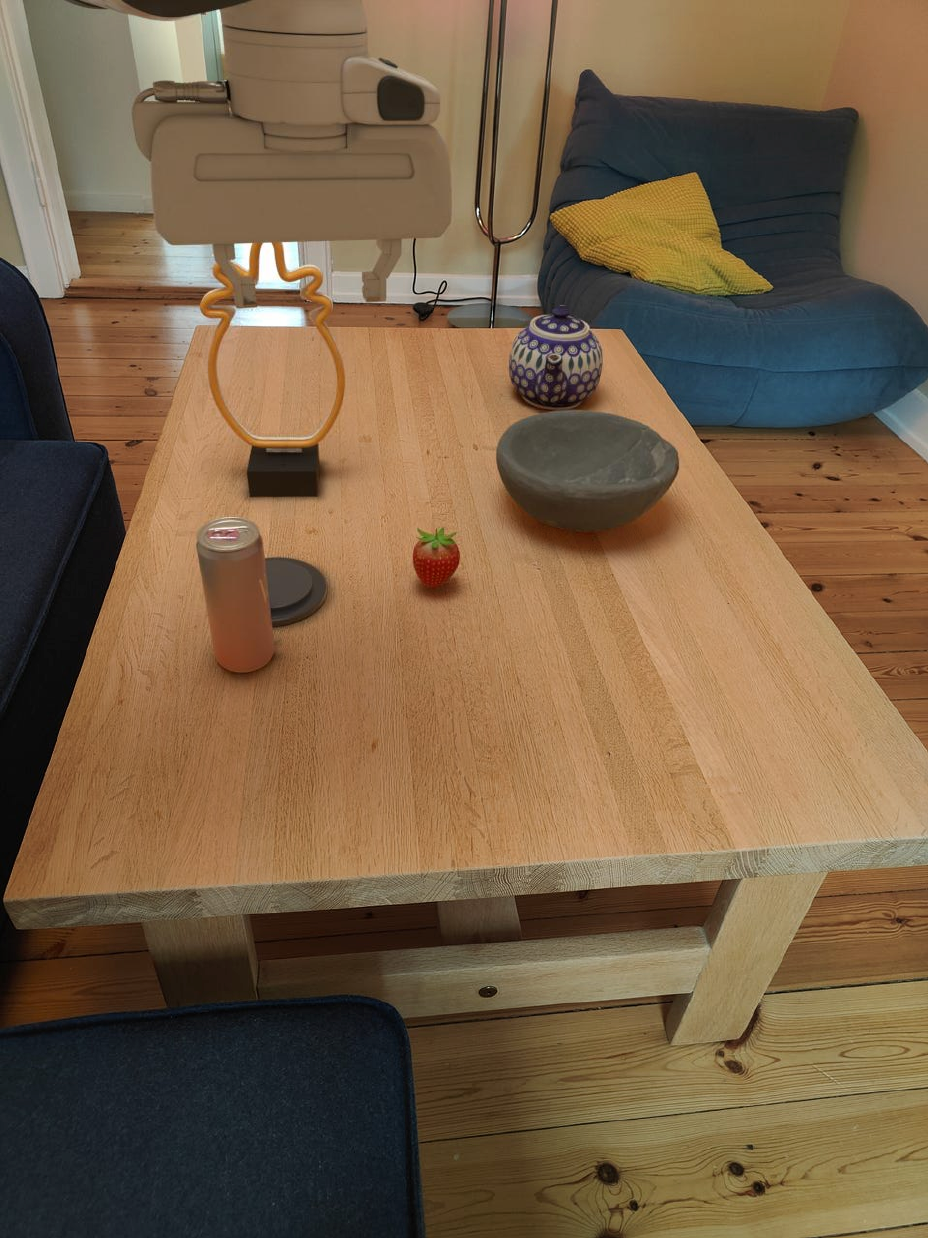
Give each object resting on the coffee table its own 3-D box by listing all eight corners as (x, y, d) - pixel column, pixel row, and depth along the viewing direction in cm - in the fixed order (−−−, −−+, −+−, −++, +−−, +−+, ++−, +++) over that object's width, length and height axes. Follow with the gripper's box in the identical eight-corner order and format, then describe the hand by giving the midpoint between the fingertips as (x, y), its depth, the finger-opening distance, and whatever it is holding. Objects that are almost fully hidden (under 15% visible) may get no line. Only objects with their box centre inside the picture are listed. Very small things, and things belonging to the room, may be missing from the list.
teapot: (517, 363, 152) (526, 277, 143) (602, 374, 150) (615, 288, 141) (493, 423, 132) (501, 328, 123) (590, 437, 131) (605, 341, 121)
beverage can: (220, 637, 90) (200, 514, 80) (278, 637, 90) (265, 515, 81) (210, 675, 85) (188, 550, 76) (271, 675, 86) (257, 551, 76)
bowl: (567, 453, 126) (577, 389, 120) (696, 516, 114) (714, 448, 108) (455, 504, 113) (459, 435, 107) (587, 582, 101) (600, 509, 95)
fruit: (432, 568, 102) (434, 510, 97) (466, 586, 99) (470, 527, 94) (401, 587, 98) (402, 528, 93) (436, 606, 96) (438, 547, 91)
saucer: (222, 634, 90) (221, 624, 89) (213, 569, 99) (211, 560, 98) (335, 617, 93) (335, 607, 92) (317, 556, 102) (316, 547, 101)
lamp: (218, 496, 111) (181, 239, 92) (226, 463, 118) (193, 218, 99) (348, 496, 113) (339, 244, 94) (348, 463, 120) (340, 222, 100)
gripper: (125, 87, 49) (165, 325, 58) (464, 92, 55) (454, 310, 63) (125, 71, 54) (162, 294, 63) (437, 78, 59) (431, 282, 68)
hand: (311, 302), depth 63 cm, fingers open, 8 cm apart
